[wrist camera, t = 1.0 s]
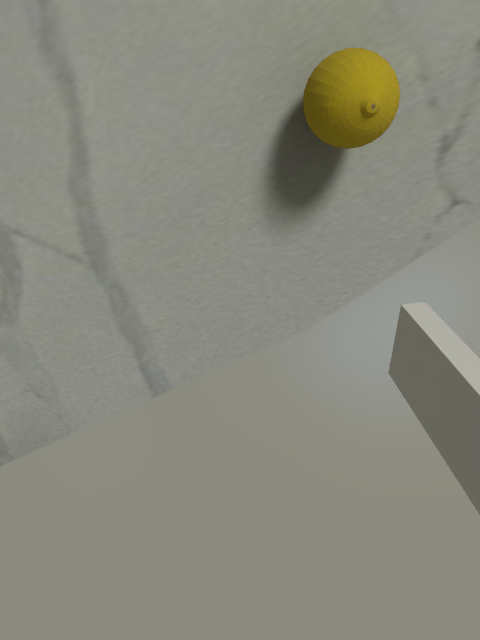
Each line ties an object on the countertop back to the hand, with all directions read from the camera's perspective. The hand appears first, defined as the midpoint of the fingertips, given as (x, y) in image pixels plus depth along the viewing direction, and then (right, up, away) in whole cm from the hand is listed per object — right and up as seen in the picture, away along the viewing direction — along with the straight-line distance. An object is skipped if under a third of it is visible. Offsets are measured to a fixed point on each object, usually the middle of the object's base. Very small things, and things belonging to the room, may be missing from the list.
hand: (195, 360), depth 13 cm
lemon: (+8, +17, +17) cm, 25 cm away
